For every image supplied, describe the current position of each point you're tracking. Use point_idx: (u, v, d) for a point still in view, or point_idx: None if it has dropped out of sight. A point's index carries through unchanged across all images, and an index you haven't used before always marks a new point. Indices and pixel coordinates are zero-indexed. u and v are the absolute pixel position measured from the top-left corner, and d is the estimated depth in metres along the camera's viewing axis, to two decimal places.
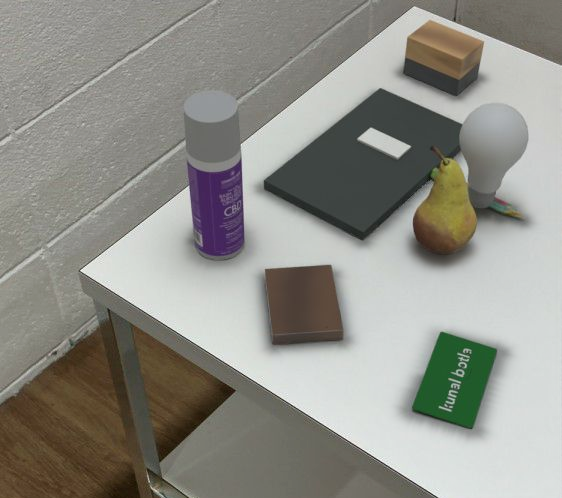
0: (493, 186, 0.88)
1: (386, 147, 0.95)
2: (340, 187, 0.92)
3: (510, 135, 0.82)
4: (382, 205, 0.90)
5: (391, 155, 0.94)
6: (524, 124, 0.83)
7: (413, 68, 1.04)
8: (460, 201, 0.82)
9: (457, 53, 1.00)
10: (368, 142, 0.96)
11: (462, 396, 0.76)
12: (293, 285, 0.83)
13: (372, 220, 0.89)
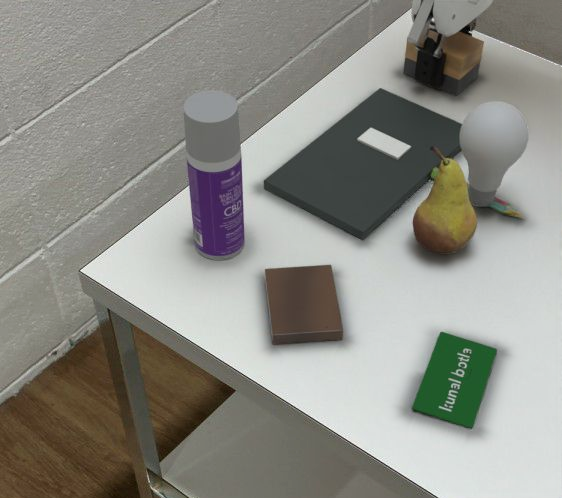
0: (493, 184, 0.88)
1: (386, 147, 0.95)
2: (340, 187, 0.92)
3: (509, 134, 0.82)
4: (382, 205, 0.90)
5: (391, 155, 0.94)
6: (524, 123, 0.84)
7: (413, 68, 1.04)
8: (460, 201, 0.82)
9: (457, 53, 1.00)
10: (368, 142, 0.96)
11: (462, 396, 0.76)
12: (293, 285, 0.83)
13: (372, 220, 0.89)
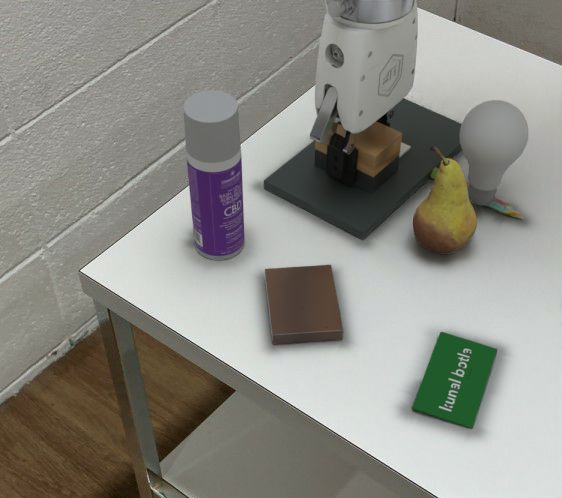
0: (493, 183, 0.88)
1: None
2: (340, 187, 0.92)
3: (508, 133, 0.83)
4: (382, 205, 0.90)
5: None
6: (524, 122, 0.84)
7: (324, 161, 0.92)
8: (460, 201, 0.82)
9: (370, 148, 0.88)
10: None
11: (462, 396, 0.76)
12: (293, 285, 0.83)
13: (372, 220, 0.89)
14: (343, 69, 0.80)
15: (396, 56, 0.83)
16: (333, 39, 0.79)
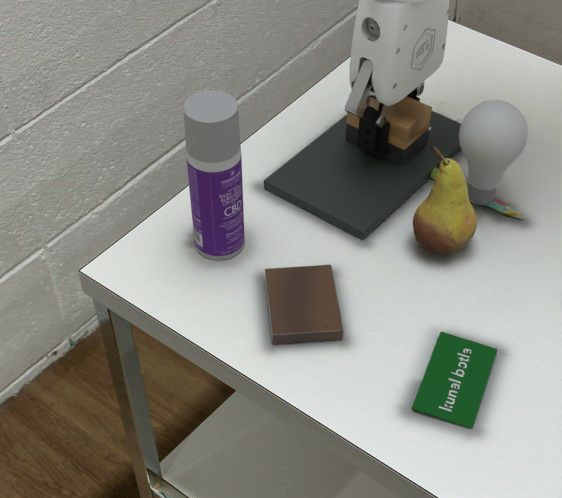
0: (493, 183, 0.88)
1: None
2: (340, 187, 0.92)
3: (507, 132, 0.83)
4: (382, 205, 0.90)
5: None
6: (523, 122, 0.84)
7: (356, 135, 0.95)
8: (460, 201, 0.82)
9: (402, 121, 0.91)
10: None
11: (462, 396, 0.76)
12: (293, 285, 0.83)
13: (372, 220, 0.89)
14: (378, 42, 0.82)
15: (429, 30, 0.85)
16: (370, 13, 0.81)
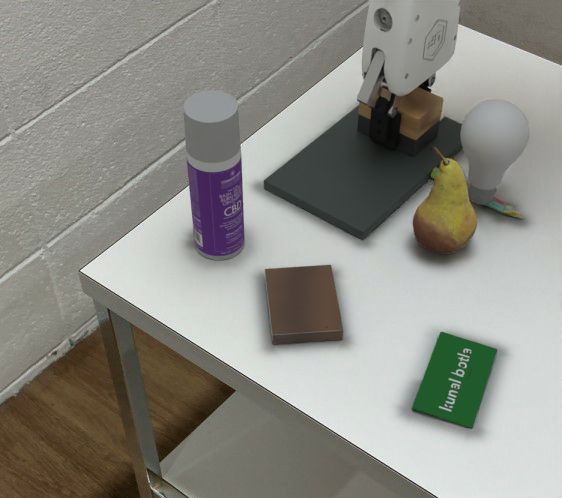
0: (493, 182, 0.88)
1: None
2: (340, 187, 0.92)
3: (509, 131, 0.83)
4: (382, 205, 0.90)
5: None
6: (525, 121, 0.84)
7: (367, 126, 0.96)
8: (460, 201, 0.82)
9: (413, 112, 0.92)
10: None
11: (462, 396, 0.76)
12: (293, 285, 0.83)
13: (372, 220, 0.89)
14: (391, 33, 0.83)
15: (441, 21, 0.86)
16: (382, 3, 0.82)
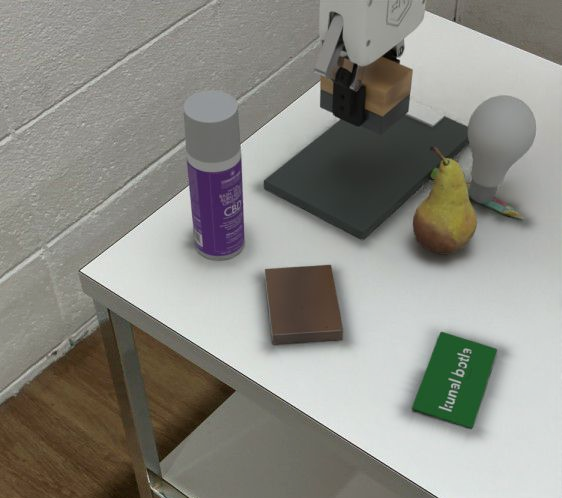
0: (496, 180, 0.88)
1: (421, 115, 0.98)
2: (340, 187, 0.92)
3: (518, 126, 0.83)
4: (382, 205, 0.90)
5: (426, 123, 0.98)
6: (533, 119, 0.84)
7: (330, 102, 0.87)
8: (460, 201, 0.82)
9: (379, 85, 0.83)
10: None
11: (462, 396, 0.76)
12: (293, 285, 0.83)
13: (372, 220, 0.89)
14: None
15: None
16: None
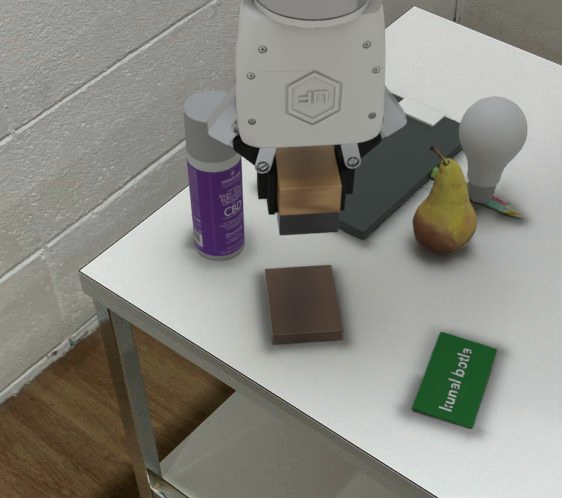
0: (492, 180, 0.88)
1: (421, 115, 0.98)
2: None
3: (507, 127, 0.83)
4: (382, 205, 0.90)
5: (426, 123, 0.98)
6: (523, 118, 0.84)
7: None
8: (460, 201, 0.82)
9: (287, 180, 0.69)
10: (404, 111, 0.99)
11: (462, 396, 0.76)
12: (293, 285, 0.83)
13: (372, 220, 0.89)
14: (236, 55, 0.62)
15: (324, 77, 0.62)
16: None
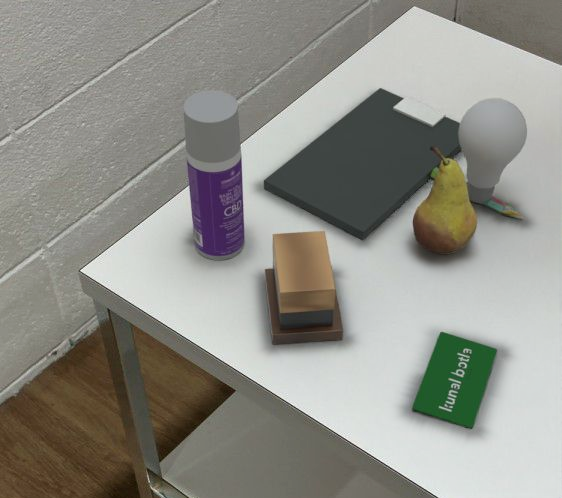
0: (490, 181, 0.88)
1: (421, 115, 0.98)
2: (340, 187, 0.92)
3: (505, 131, 0.83)
4: (382, 205, 0.90)
5: (426, 123, 0.98)
6: (522, 121, 0.84)
7: None
8: (460, 201, 0.82)
9: (286, 283, 0.77)
10: (404, 111, 0.99)
11: (462, 396, 0.76)
12: None
13: (372, 220, 0.89)
14: None
15: None
16: None
